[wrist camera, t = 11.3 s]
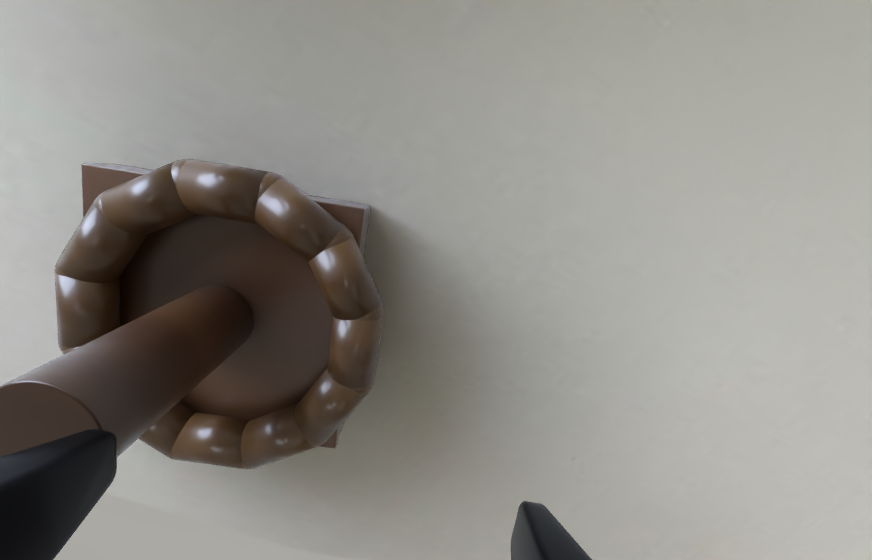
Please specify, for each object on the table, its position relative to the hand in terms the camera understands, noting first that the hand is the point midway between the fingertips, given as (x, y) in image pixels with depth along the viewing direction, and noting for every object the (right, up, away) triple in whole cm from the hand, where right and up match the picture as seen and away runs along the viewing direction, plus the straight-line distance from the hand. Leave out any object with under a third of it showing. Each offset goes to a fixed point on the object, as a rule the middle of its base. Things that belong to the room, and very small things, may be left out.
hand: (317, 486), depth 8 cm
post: (-5, +3, +8) cm, 10 cm away
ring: (-5, +2, +6) cm, 8 cm away
